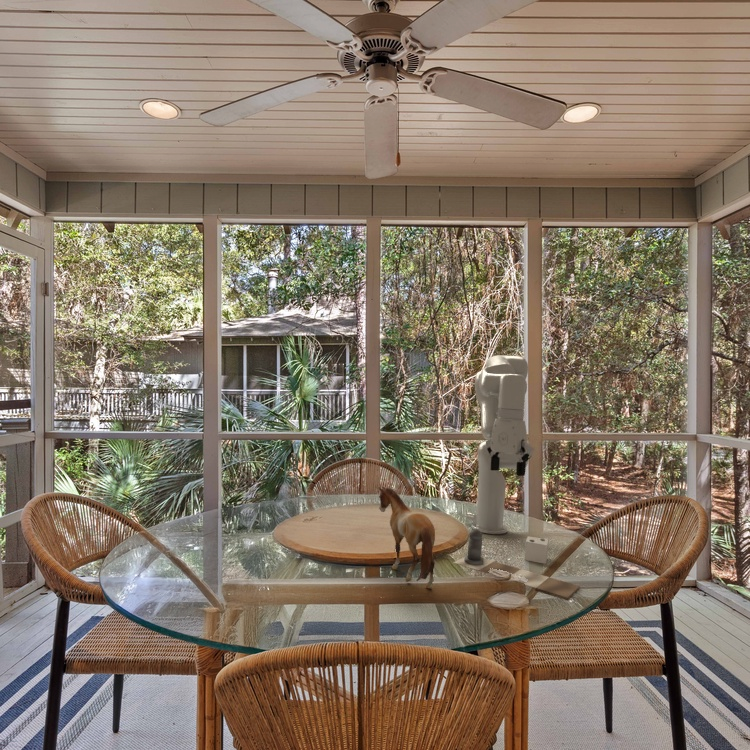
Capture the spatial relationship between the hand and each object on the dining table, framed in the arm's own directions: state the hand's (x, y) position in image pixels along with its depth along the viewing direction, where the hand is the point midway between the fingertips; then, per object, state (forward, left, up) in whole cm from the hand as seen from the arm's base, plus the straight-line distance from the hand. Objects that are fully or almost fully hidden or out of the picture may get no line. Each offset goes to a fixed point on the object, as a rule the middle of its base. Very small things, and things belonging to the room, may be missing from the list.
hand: (507, 472), depth 155 cm
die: (+8, +7, -26) cm, 28 cm away
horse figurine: (-14, -34, -26) cm, 45 cm away
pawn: (-4, -10, -25) cm, 27 cm away
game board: (+8, -10, -26) cm, 29 cm away
